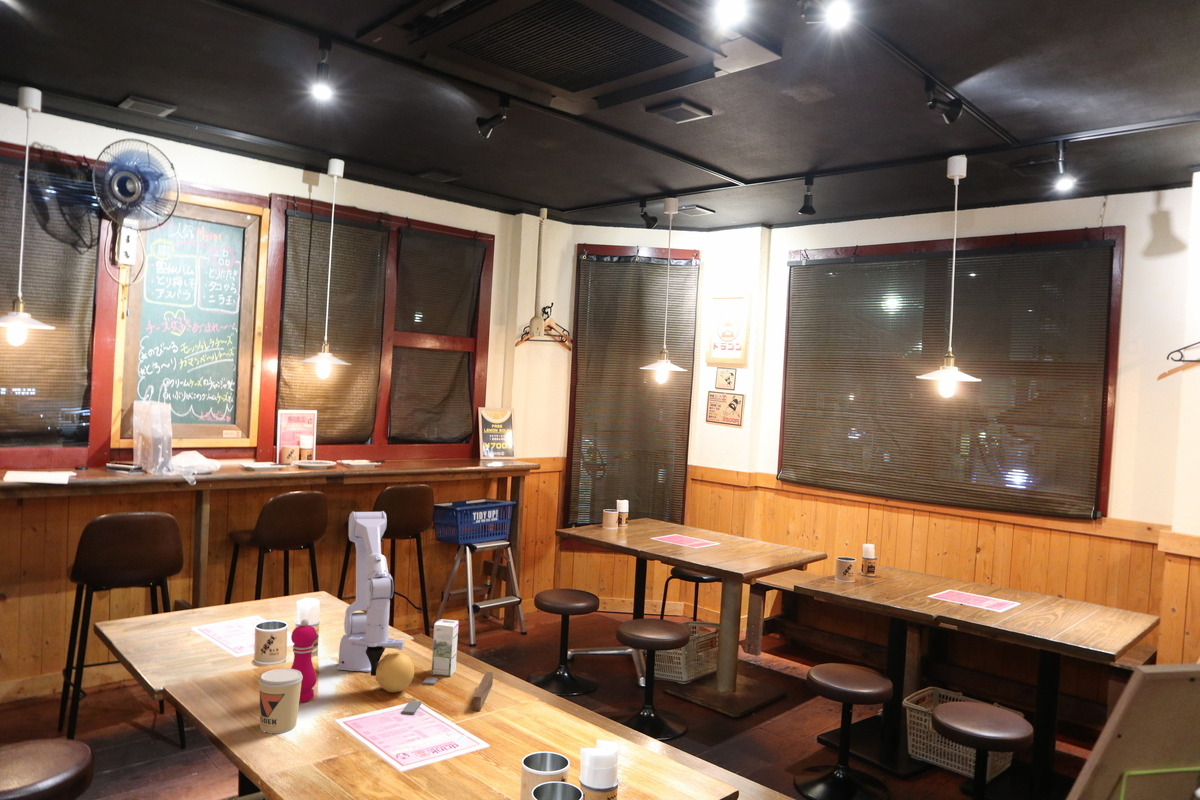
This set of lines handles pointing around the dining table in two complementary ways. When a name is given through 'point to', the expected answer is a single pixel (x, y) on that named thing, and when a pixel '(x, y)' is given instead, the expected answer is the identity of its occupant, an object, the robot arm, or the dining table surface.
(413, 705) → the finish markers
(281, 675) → the coffee cup
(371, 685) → the dining table surface
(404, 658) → the stress ball
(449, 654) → the syrup box
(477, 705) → the bar
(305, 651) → the pepper mill
